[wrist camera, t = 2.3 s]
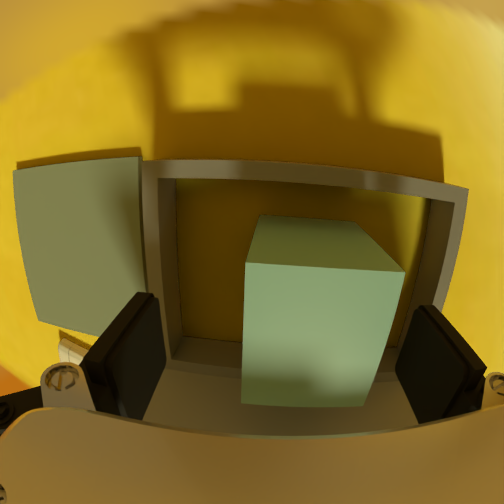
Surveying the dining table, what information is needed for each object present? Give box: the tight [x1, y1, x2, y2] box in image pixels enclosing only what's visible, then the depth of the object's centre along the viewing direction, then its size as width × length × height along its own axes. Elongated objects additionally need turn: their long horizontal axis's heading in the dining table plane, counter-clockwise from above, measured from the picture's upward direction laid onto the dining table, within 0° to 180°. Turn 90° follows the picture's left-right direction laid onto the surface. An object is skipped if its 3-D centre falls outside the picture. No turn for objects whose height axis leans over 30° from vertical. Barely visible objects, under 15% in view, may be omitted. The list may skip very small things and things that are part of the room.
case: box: [142, 159, 469, 383], centre depth 15 cm, size 16×12×2 cm
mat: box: [13, 156, 149, 337], centre depth 17 cm, size 11×12×1 cm
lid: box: [142, 368, 418, 436], centre depth 11 cm, size 16×12×2 cm
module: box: [241, 215, 406, 407], centre depth 13 cm, size 5×6×7 cm
